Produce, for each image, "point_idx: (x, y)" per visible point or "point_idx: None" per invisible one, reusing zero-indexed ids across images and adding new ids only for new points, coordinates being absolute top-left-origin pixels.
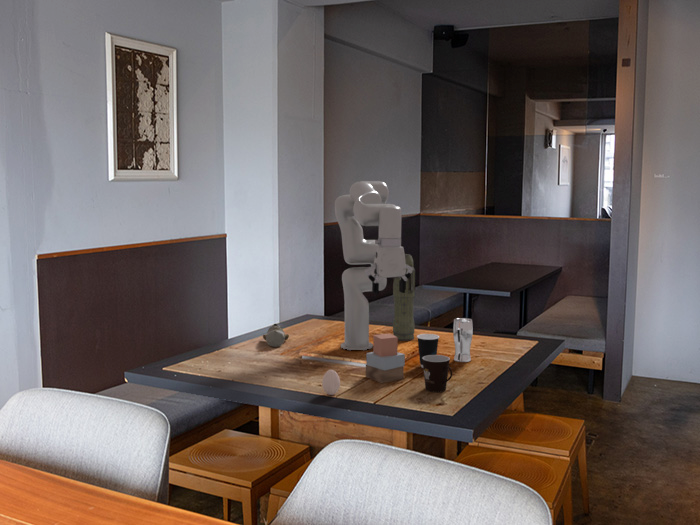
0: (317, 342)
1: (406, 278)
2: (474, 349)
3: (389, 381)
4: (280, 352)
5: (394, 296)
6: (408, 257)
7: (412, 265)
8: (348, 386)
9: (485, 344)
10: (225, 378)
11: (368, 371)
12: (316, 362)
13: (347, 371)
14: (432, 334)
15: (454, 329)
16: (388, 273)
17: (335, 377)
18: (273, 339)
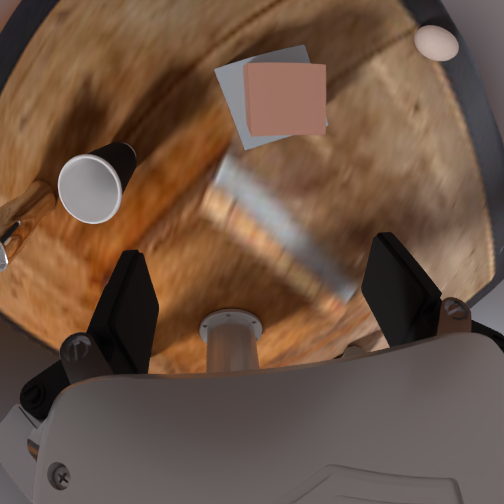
0: (283, 359)
1: (67, 360)
2: (22, 262)
3: None
4: (364, 322)
5: None
6: None
7: None
8: (373, 68)
9: (10, 283)
10: (486, 216)
11: None
12: (349, 259)
13: (327, 176)
14: (72, 212)
15: (18, 234)
16: (411, 400)
17: (441, 28)
18: (363, 352)
